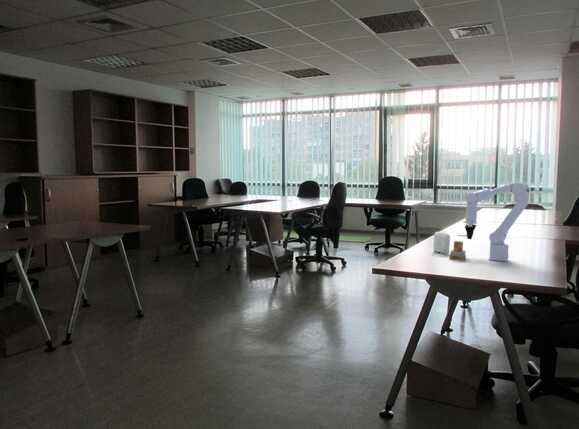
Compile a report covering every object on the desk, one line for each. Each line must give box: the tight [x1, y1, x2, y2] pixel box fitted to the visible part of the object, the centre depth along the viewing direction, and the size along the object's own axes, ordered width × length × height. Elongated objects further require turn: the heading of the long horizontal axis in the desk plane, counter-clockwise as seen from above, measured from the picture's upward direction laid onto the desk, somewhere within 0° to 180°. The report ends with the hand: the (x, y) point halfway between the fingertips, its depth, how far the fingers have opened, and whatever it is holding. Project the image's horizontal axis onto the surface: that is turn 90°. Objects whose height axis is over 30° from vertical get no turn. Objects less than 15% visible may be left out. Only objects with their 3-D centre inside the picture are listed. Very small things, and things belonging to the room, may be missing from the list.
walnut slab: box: [448, 253, 467, 261], centre depth 265 cm, size 8×8×2 cm
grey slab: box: [449, 248, 466, 257], centre depth 264 cm, size 7×7×2 cm
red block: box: [453, 240, 464, 251], centre depth 264 cm, size 4×4×5 cm
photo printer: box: [433, 231, 451, 255], centre depth 282 cm, size 10×4×12 cm, turn 28°
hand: (469, 238), depth 271 cm, fingers open, 7 cm apart
